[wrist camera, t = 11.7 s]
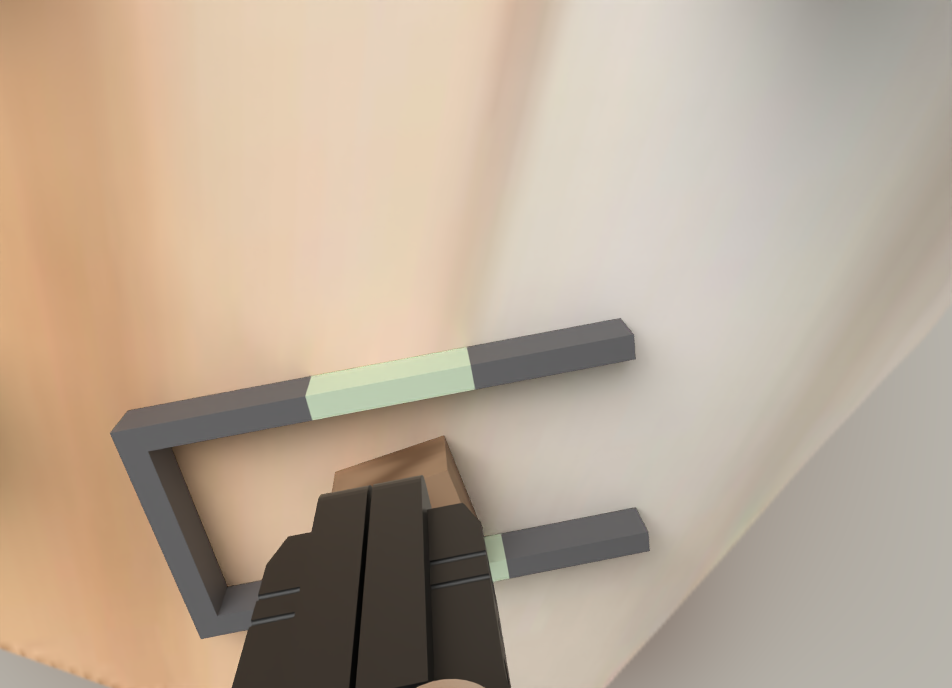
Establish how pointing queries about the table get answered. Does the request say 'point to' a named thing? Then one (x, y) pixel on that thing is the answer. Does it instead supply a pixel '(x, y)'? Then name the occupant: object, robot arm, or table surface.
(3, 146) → the table surface
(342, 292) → the table surface
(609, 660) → the table surface
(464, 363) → the box
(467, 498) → the walnut block
